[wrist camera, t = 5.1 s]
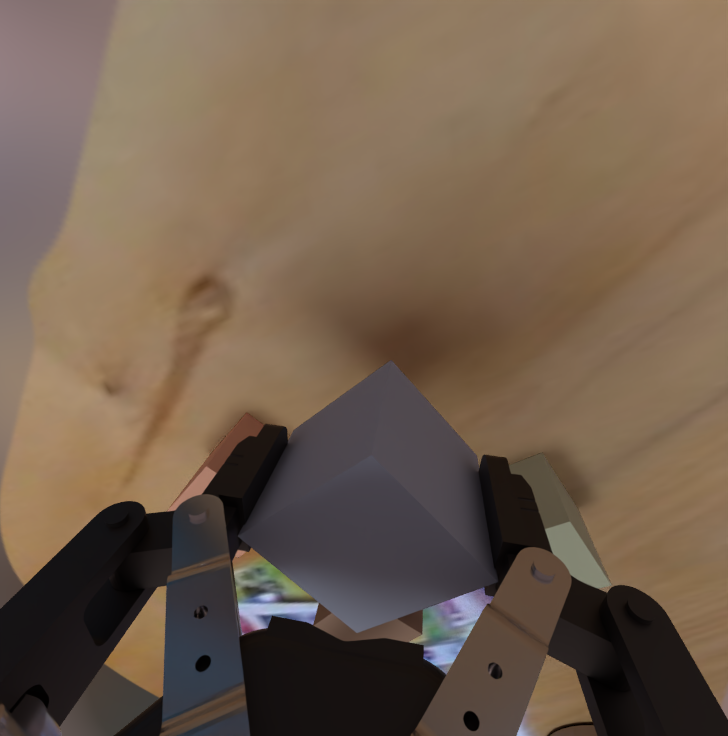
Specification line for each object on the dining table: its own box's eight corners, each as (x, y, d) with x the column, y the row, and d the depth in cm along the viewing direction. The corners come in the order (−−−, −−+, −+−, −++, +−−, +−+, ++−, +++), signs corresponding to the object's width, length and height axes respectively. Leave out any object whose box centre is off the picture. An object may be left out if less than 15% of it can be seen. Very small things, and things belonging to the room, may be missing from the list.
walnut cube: (423, 561, 28) (422, 634, 24) (381, 589, 30) (373, 660, 26) (369, 525, 27) (357, 594, 23) (330, 557, 29) (313, 626, 25)
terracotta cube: (309, 457, 25) (284, 519, 21) (269, 495, 27) (238, 558, 23) (247, 411, 24) (206, 466, 20) (210, 454, 26) (166, 511, 22)
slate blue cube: (477, 455, 14) (498, 581, 10) (376, 508, 16) (356, 633, 12) (391, 359, 13) (371, 455, 9) (293, 430, 15) (237, 536, 11)
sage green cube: (577, 507, 24) (611, 585, 19) (501, 532, 25) (516, 607, 21) (541, 451, 22) (569, 521, 18) (463, 481, 24) (471, 551, 20)
